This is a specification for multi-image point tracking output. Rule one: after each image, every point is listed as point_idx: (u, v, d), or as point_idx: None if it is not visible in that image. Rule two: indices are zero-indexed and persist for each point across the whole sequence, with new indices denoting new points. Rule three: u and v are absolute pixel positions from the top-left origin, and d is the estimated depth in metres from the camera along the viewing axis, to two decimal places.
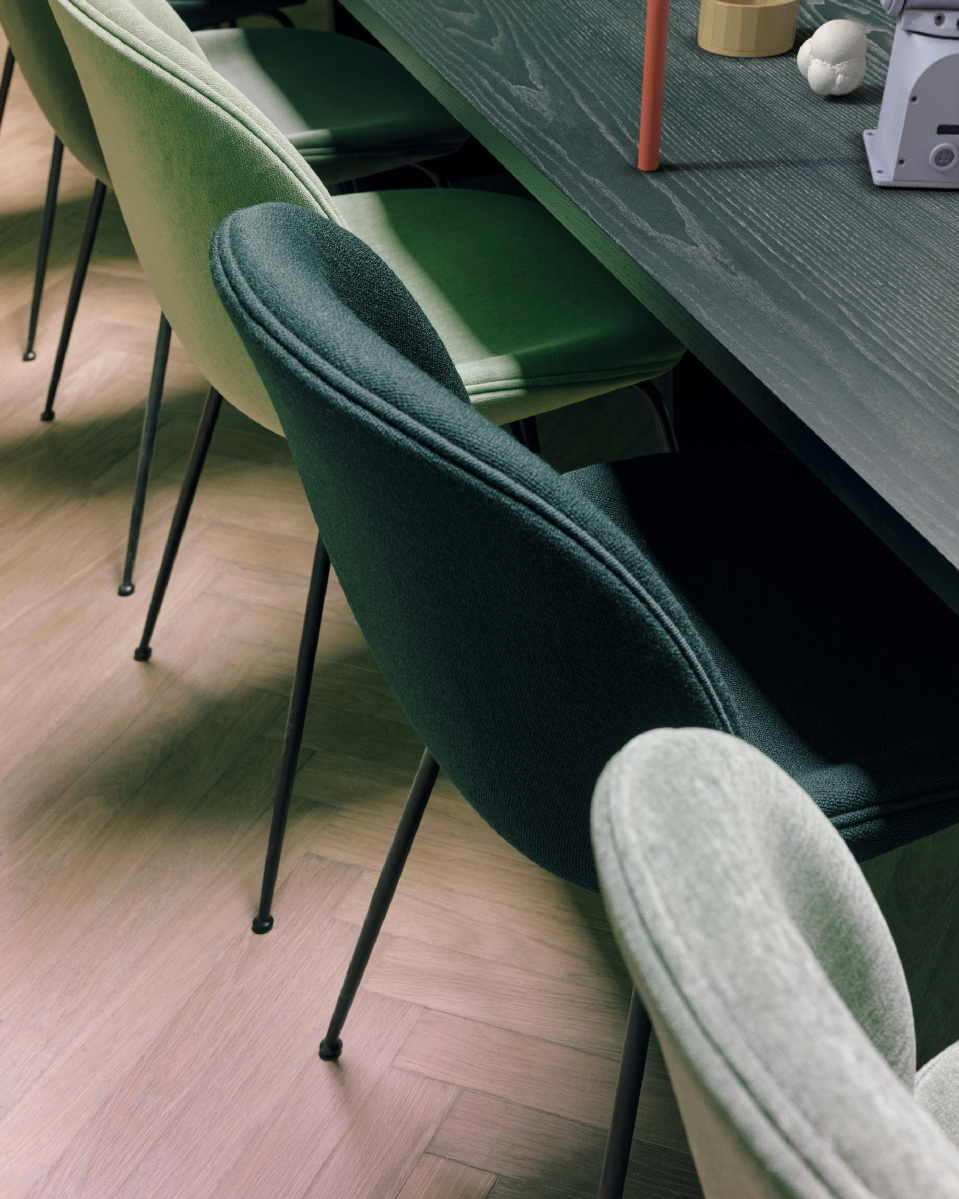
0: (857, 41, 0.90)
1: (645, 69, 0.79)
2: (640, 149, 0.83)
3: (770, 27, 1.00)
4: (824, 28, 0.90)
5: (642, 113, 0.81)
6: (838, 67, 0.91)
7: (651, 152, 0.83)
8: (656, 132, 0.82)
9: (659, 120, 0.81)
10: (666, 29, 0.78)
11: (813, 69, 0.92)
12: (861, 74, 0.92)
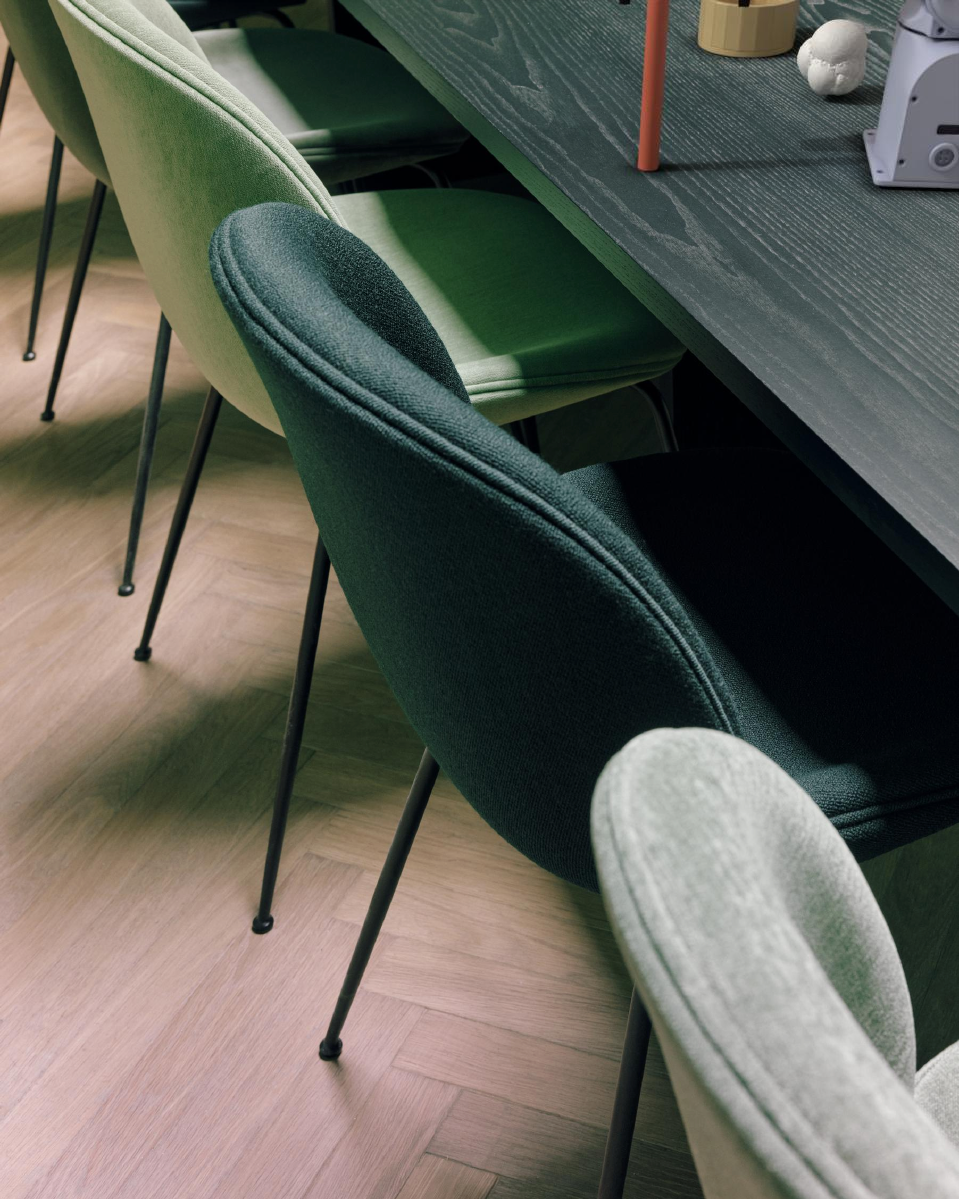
0: (857, 41, 0.90)
1: (645, 69, 0.79)
2: (640, 149, 0.83)
3: (770, 27, 1.00)
4: (824, 28, 0.90)
5: (642, 113, 0.81)
6: (838, 67, 0.91)
7: (651, 152, 0.83)
8: (656, 132, 0.82)
9: (659, 120, 0.81)
10: (666, 29, 0.78)
11: (813, 69, 0.92)
12: (861, 74, 0.92)
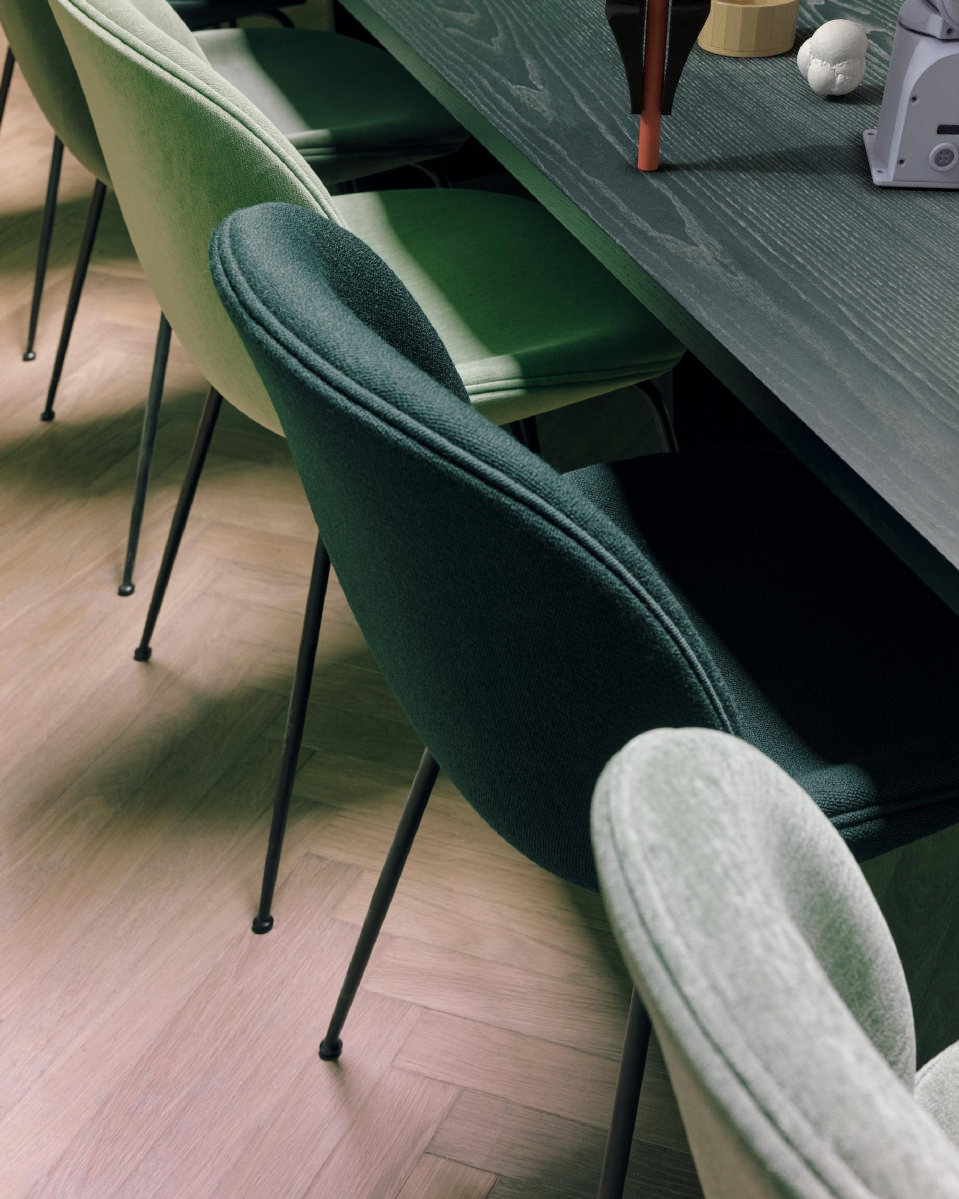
0: (857, 41, 0.90)
1: (645, 69, 0.79)
2: (640, 149, 0.83)
3: (770, 27, 1.00)
4: (824, 28, 0.90)
5: (642, 113, 0.81)
6: (838, 67, 0.91)
7: (651, 151, 0.83)
8: (656, 132, 0.82)
9: (659, 120, 0.81)
10: (666, 29, 0.78)
11: (813, 69, 0.92)
12: (861, 74, 0.92)
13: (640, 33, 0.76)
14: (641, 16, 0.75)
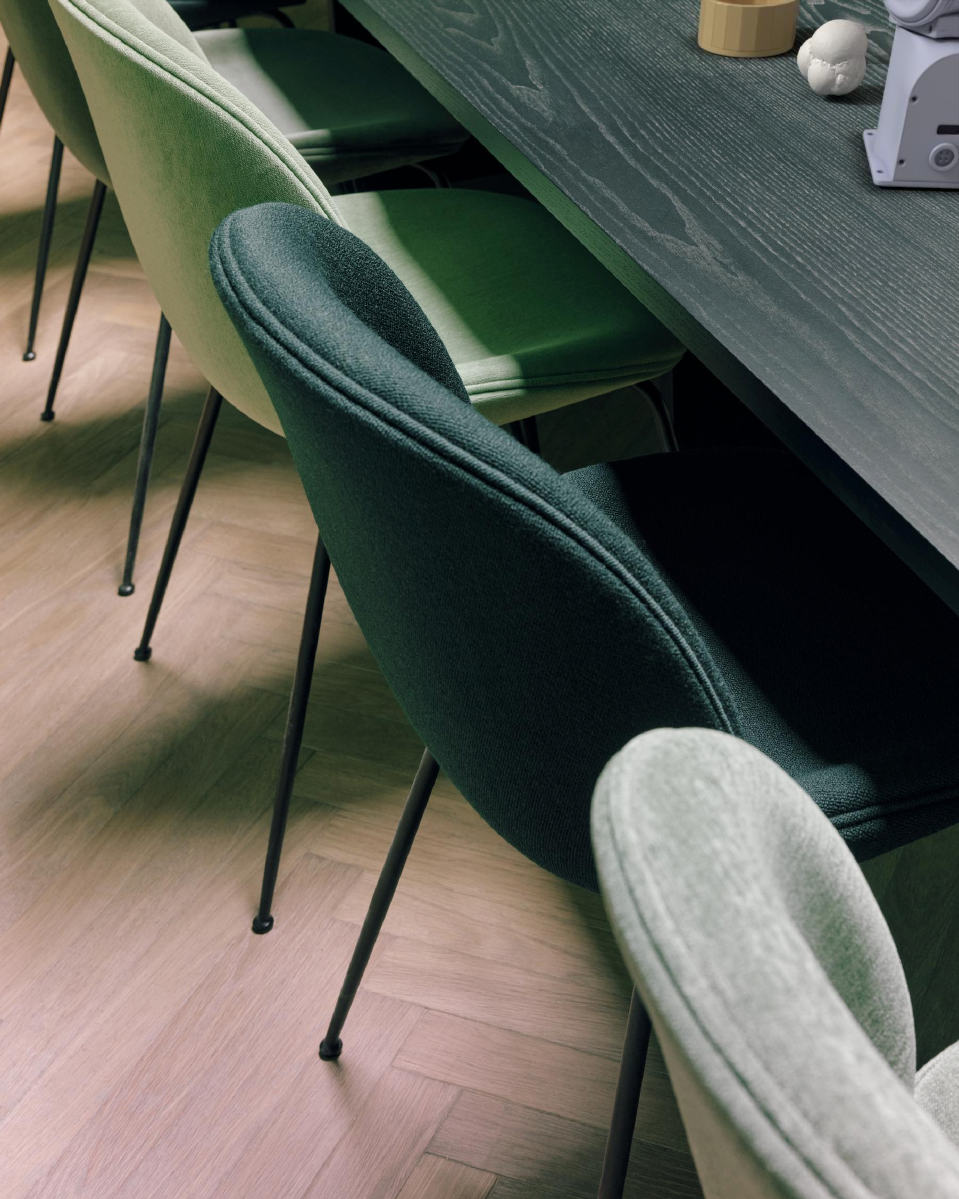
0: (857, 41, 0.90)
1: None
2: None
3: (770, 27, 1.00)
4: (824, 28, 0.90)
5: None
6: (838, 67, 0.91)
7: None
8: None
9: None
10: None
11: (813, 69, 0.92)
12: (861, 74, 0.92)
13: None
14: None
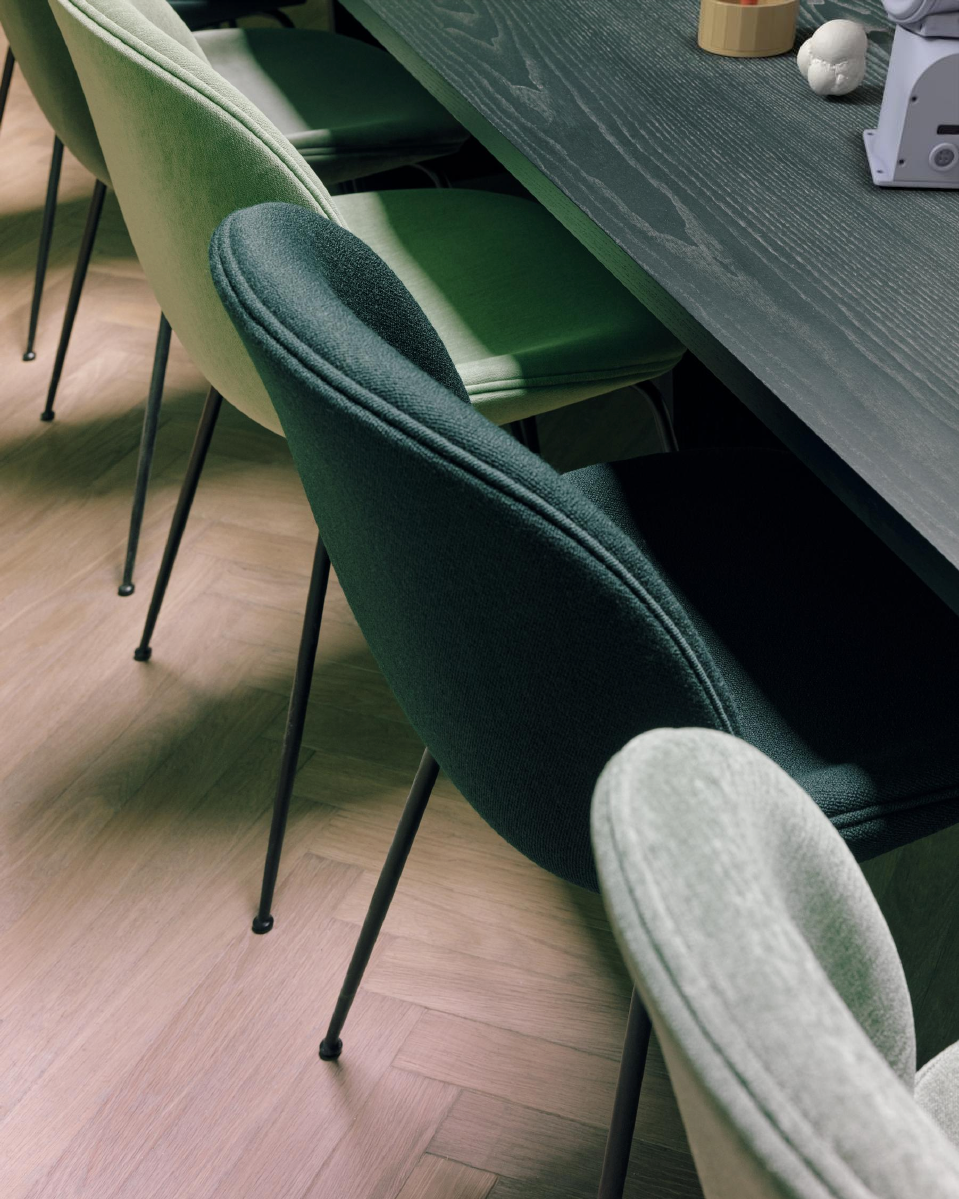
0: (857, 41, 0.90)
1: None
2: None
3: (770, 27, 1.00)
4: (824, 28, 0.90)
5: None
6: (838, 67, 0.91)
7: None
8: None
9: None
10: None
11: (813, 69, 0.92)
12: (861, 74, 0.92)
13: None
14: None
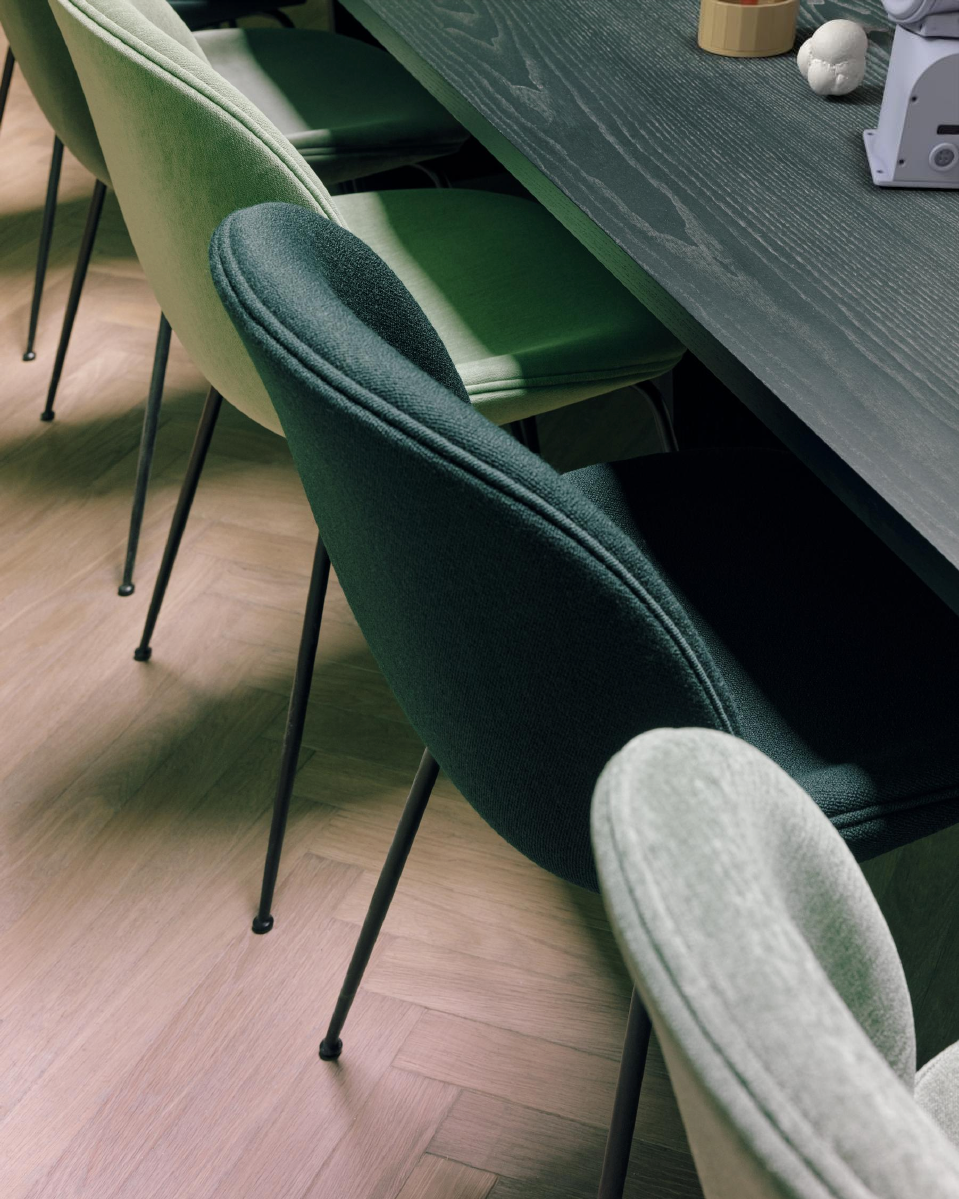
0: (857, 41, 0.90)
1: None
2: None
3: (770, 27, 1.00)
4: (824, 28, 0.90)
5: None
6: (838, 67, 0.91)
7: None
8: None
9: None
10: None
11: (813, 69, 0.92)
12: (861, 74, 0.92)
13: None
14: None
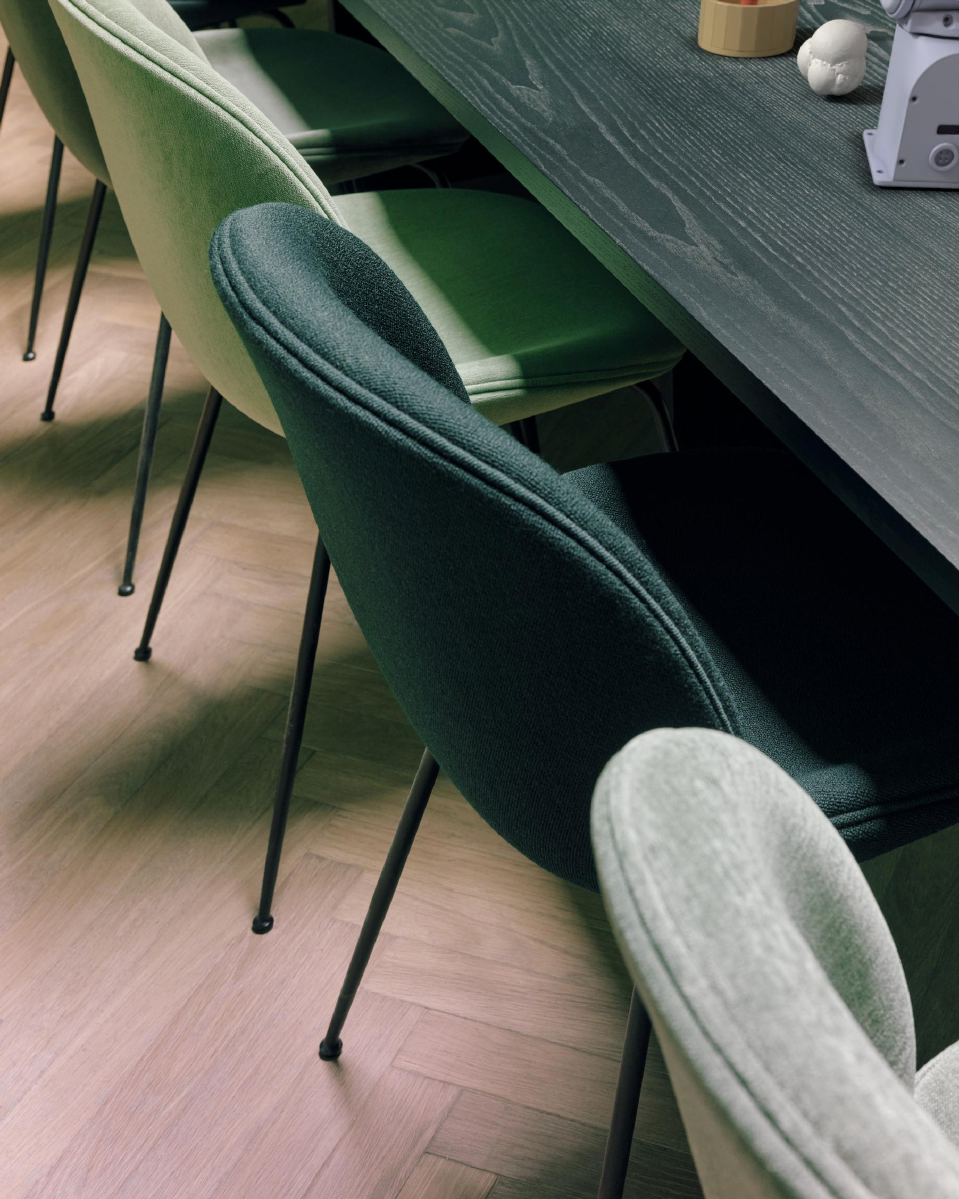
0: (857, 41, 0.90)
1: None
2: None
3: (770, 27, 1.00)
4: (824, 28, 0.90)
5: None
6: (838, 67, 0.91)
7: None
8: None
9: None
10: None
11: (813, 69, 0.92)
12: (861, 74, 0.92)
13: None
14: None
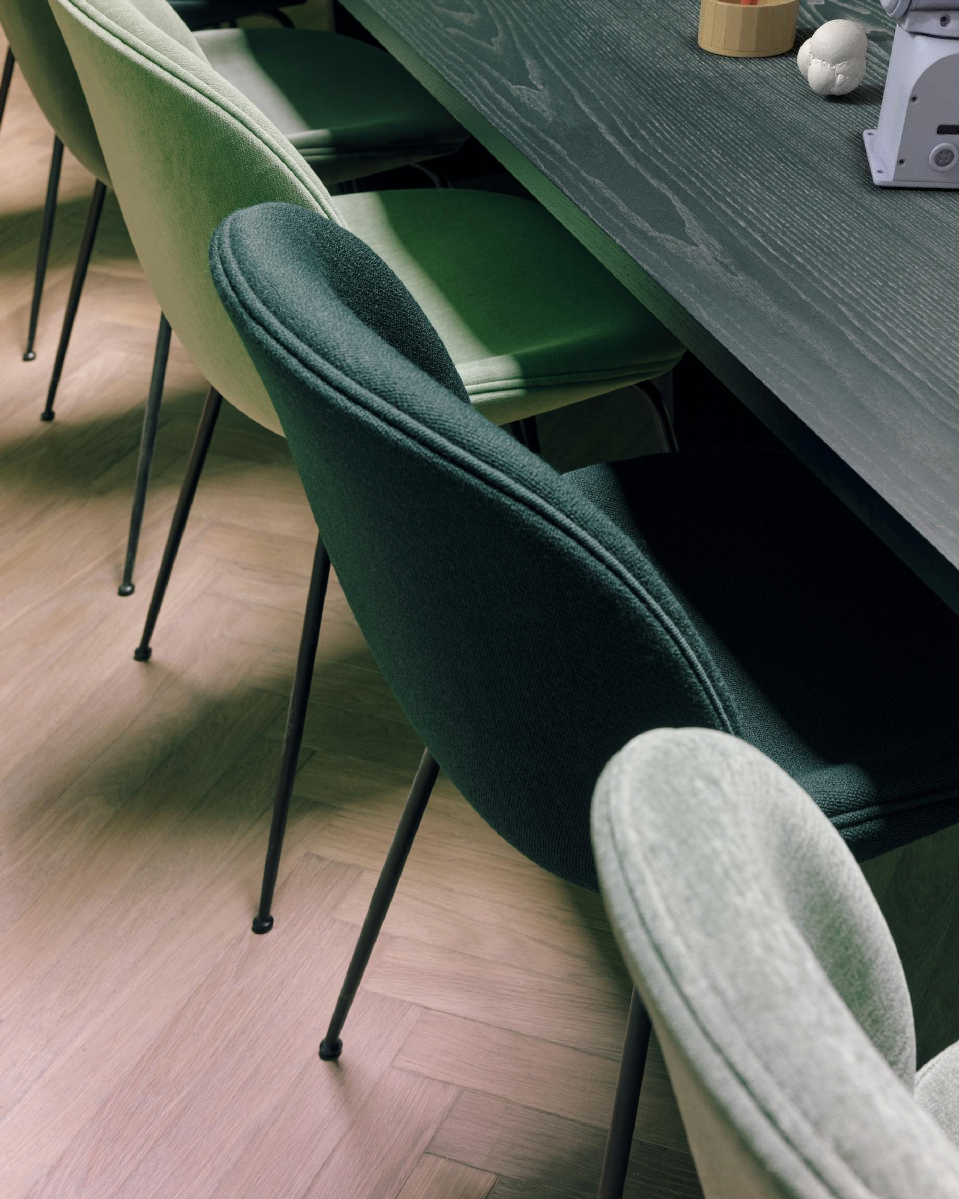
0: (857, 41, 0.90)
1: None
2: None
3: (770, 27, 1.00)
4: (824, 28, 0.90)
5: None
6: (838, 67, 0.91)
7: None
8: None
9: None
10: None
11: (813, 69, 0.92)
12: (861, 74, 0.92)
13: None
14: None
